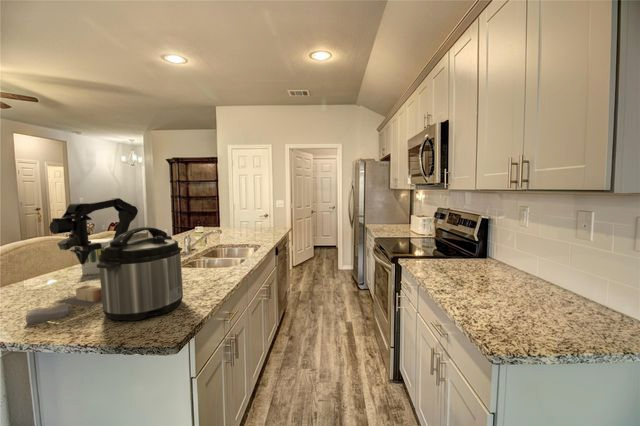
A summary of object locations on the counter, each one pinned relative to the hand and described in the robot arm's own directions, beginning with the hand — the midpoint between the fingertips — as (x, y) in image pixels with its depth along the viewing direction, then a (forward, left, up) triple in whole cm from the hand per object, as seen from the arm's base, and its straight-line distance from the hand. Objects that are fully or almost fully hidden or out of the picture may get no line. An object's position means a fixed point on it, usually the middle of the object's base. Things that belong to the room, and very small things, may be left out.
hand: (82, 264), depth 141 cm
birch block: (+8, +11, -9) cm, 17 cm away
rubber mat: (+8, +15, -12) cm, 21 cm away
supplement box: (-25, -25, -12) cm, 37 cm away
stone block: (+25, +19, -12) cm, 33 cm away
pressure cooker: (+9, +46, -12) cm, 48 cm away
